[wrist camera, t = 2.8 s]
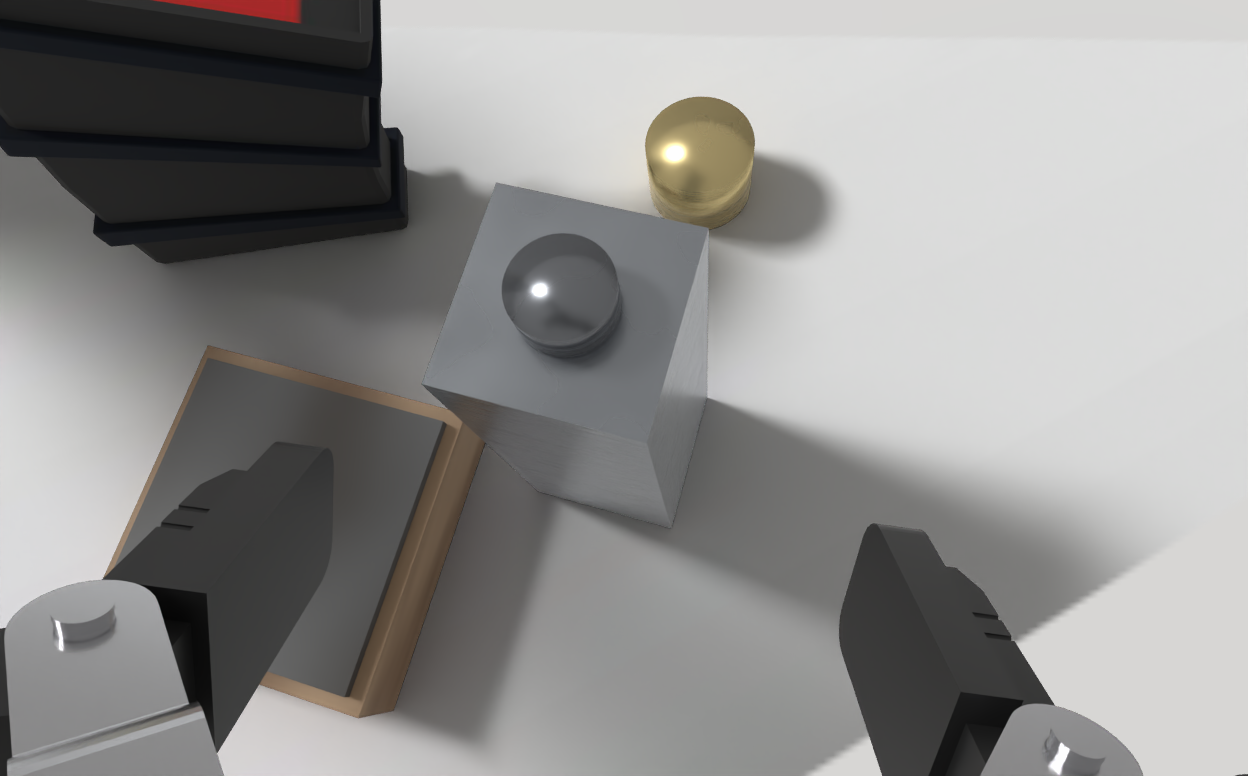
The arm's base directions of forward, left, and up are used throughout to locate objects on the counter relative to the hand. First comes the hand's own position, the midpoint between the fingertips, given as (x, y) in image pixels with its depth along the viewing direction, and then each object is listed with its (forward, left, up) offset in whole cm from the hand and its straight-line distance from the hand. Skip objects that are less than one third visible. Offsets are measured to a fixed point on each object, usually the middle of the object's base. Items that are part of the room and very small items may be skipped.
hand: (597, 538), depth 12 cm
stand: (-13, -1, -17) cm, 21 cm away
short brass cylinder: (-3, +16, -17) cm, 23 cm away
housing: (-3, +5, -17) cm, 18 cm away
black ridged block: (-18, +11, -17) cm, 27 cm away
